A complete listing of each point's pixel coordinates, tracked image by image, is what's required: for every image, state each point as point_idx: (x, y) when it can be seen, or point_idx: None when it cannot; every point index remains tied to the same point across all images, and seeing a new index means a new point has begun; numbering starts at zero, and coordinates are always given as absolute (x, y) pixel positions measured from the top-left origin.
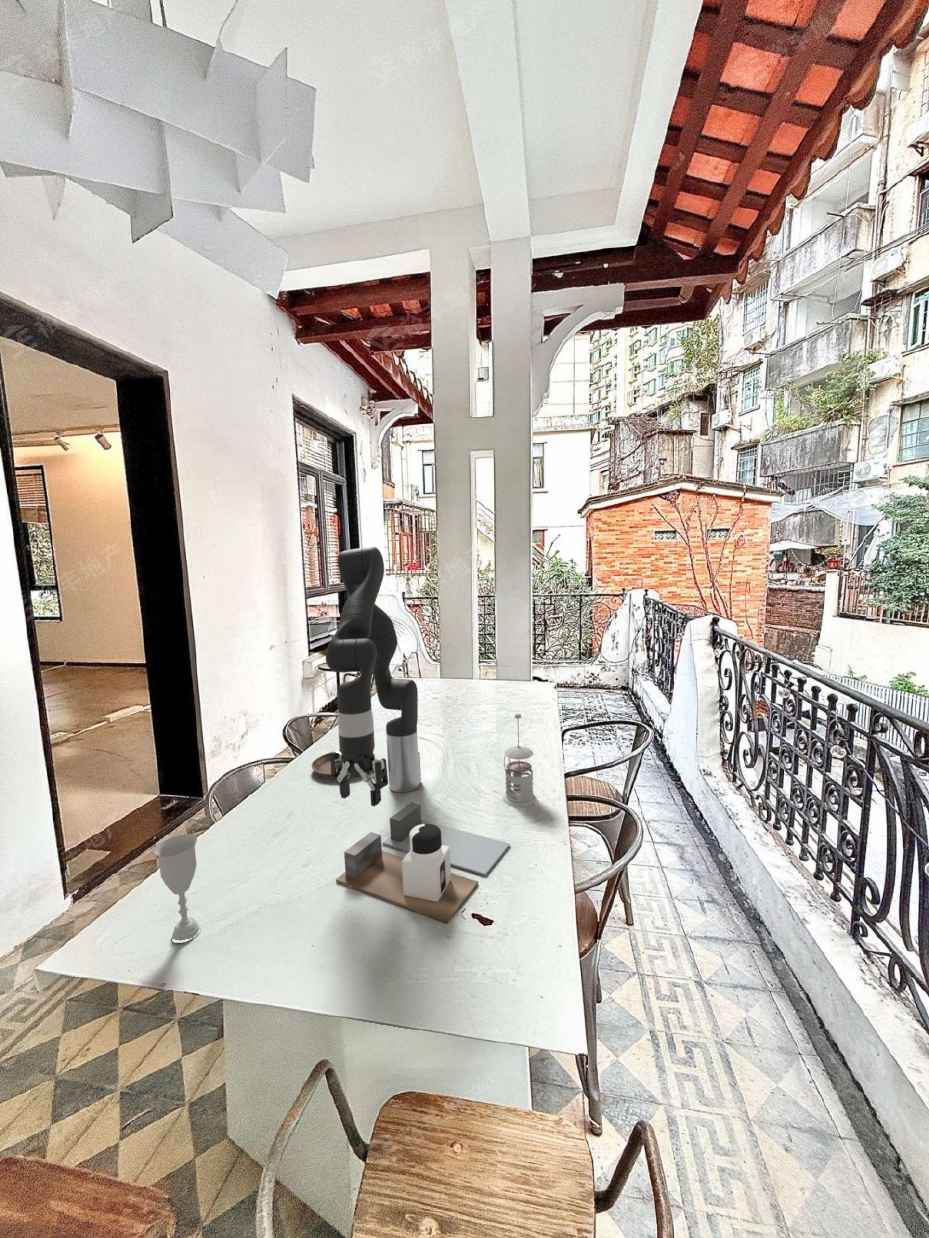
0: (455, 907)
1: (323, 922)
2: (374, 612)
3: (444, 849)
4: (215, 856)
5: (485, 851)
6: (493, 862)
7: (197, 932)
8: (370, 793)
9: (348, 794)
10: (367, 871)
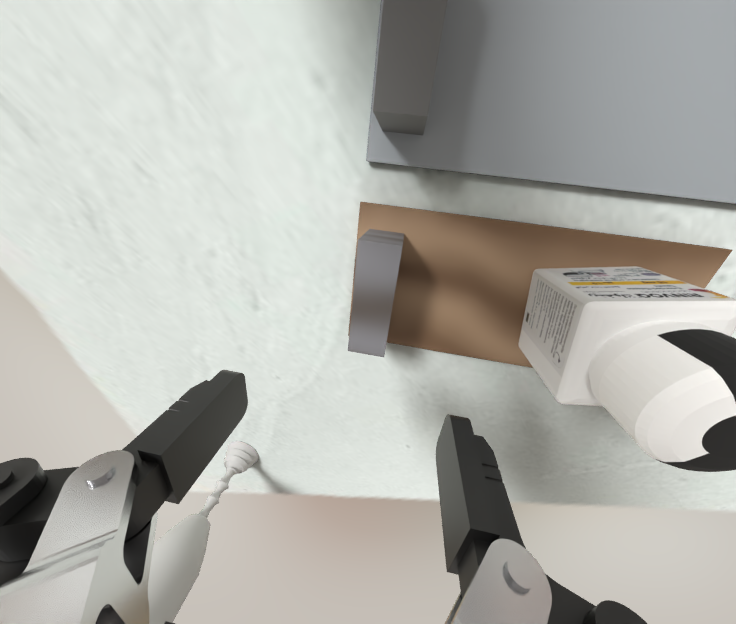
0: None
1: (394, 413)
2: None
3: (726, 333)
4: (92, 326)
5: None
6: None
7: (253, 453)
8: (444, 538)
9: (239, 385)
10: (398, 296)
